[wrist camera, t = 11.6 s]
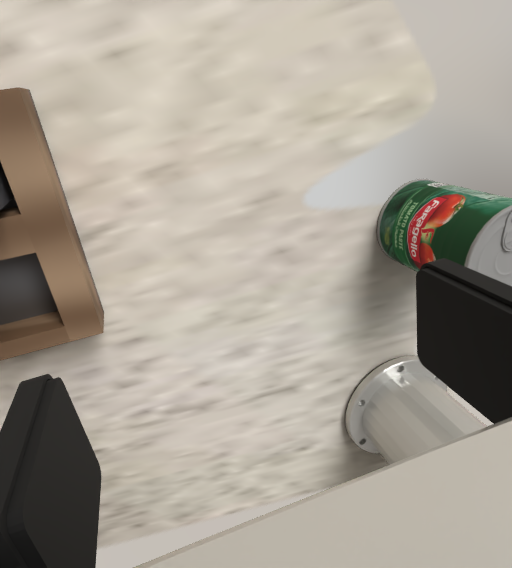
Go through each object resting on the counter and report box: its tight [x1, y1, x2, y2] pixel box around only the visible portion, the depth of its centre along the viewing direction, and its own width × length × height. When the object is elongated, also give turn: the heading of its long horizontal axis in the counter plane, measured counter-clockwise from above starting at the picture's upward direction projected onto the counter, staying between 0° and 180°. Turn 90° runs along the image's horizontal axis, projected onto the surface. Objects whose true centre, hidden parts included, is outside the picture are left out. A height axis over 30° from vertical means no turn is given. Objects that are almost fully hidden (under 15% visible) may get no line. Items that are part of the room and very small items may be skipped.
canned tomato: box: [377, 179, 512, 286], centre depth 34 cm, size 8×8×11 cm
